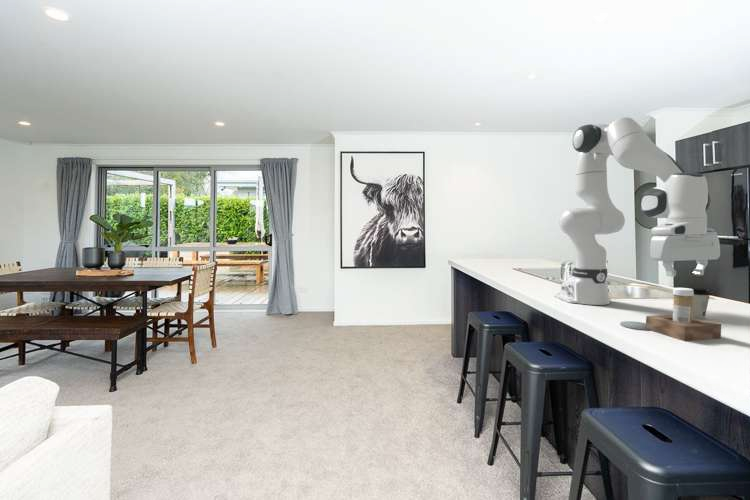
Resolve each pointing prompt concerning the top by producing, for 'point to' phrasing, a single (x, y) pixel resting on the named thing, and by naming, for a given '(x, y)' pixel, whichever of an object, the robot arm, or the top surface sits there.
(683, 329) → the holder block
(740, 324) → the top surface
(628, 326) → the coaster
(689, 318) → the sprinkles bottle
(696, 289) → the coffee cup
